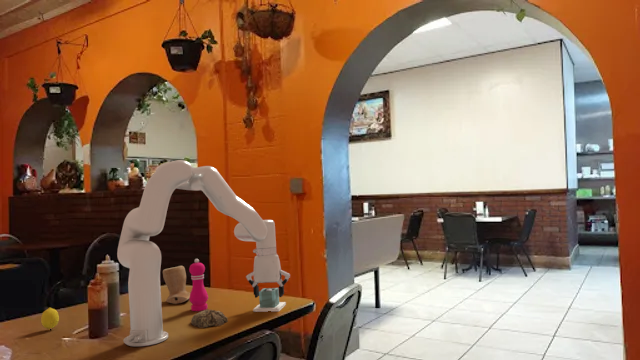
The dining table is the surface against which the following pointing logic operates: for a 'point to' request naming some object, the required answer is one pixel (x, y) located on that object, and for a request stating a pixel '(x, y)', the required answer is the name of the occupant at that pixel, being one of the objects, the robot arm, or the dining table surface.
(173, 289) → the beige hollow piece
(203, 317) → the bread roll
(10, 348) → the dining table surface
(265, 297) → the collar
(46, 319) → the lemon
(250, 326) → the dining table surface
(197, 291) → the pepper mill
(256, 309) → the shaft base
